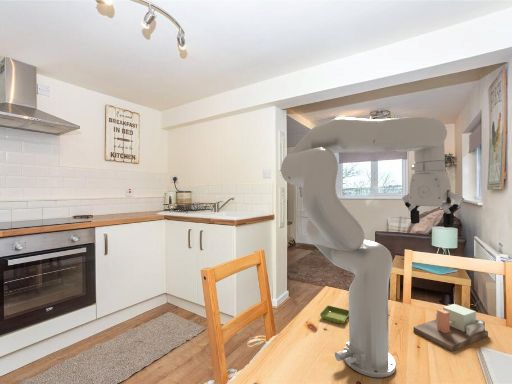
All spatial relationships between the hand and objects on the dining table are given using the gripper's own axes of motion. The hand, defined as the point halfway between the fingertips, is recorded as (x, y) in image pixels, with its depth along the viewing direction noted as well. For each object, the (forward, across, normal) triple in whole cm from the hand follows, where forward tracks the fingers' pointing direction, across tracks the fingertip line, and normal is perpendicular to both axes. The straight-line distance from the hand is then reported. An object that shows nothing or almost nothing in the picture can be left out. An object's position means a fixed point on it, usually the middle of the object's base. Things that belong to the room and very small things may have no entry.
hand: (430, 225), depth 77 cm
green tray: (+34, -22, -18) cm, 45 cm away
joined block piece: (+33, +1, +8) cm, 34 cm away
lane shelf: (+34, +1, +7) cm, 35 cm away
